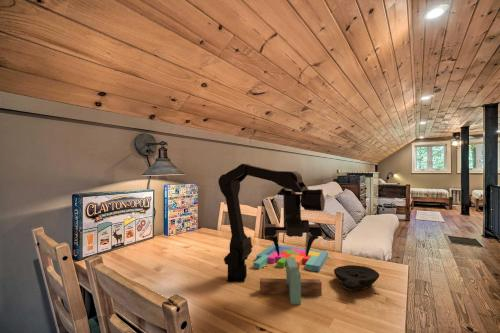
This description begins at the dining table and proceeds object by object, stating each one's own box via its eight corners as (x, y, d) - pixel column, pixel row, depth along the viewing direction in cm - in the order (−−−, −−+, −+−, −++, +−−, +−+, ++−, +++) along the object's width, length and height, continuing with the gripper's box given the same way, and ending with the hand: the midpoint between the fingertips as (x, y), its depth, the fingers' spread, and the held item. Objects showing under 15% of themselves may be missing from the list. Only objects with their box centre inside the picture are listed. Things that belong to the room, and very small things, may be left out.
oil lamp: (324, 292, 80) (324, 277, 80) (339, 272, 96) (339, 259, 96) (374, 306, 71) (374, 289, 72) (382, 281, 88) (381, 267, 88)
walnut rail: (259, 293, 79) (259, 281, 79) (260, 290, 82) (260, 278, 82) (321, 295, 78) (321, 282, 78) (320, 291, 80) (319, 279, 81)
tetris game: (272, 249, 127) (247, 268, 102) (272, 243, 127) (247, 261, 102) (328, 257, 114) (314, 281, 89) (328, 251, 114) (314, 274, 89)
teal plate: (286, 282, 87) (286, 257, 87) (294, 283, 87) (294, 257, 87) (291, 304, 73) (290, 274, 73) (301, 304, 73) (300, 274, 73)
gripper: (264, 212, 73) (264, 264, 73) (326, 213, 72) (327, 265, 72) (264, 207, 84) (264, 252, 84) (318, 207, 83) (318, 253, 83)
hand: (292, 255), depth 80 cm, fingers open, 9 cm apart
